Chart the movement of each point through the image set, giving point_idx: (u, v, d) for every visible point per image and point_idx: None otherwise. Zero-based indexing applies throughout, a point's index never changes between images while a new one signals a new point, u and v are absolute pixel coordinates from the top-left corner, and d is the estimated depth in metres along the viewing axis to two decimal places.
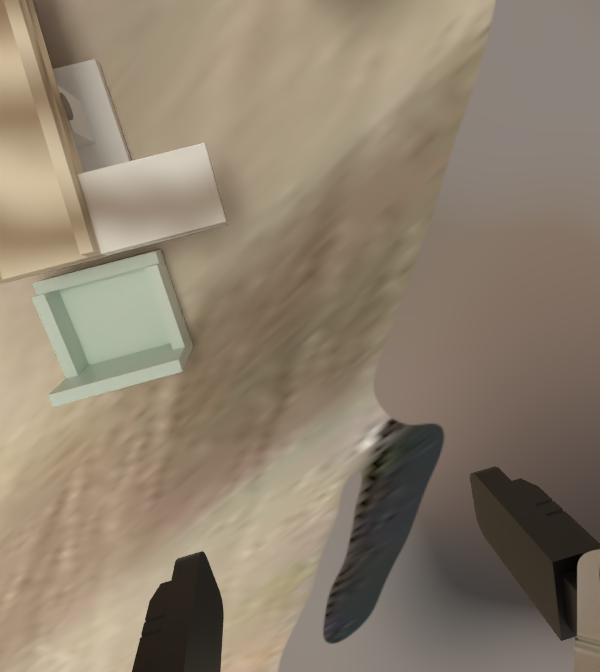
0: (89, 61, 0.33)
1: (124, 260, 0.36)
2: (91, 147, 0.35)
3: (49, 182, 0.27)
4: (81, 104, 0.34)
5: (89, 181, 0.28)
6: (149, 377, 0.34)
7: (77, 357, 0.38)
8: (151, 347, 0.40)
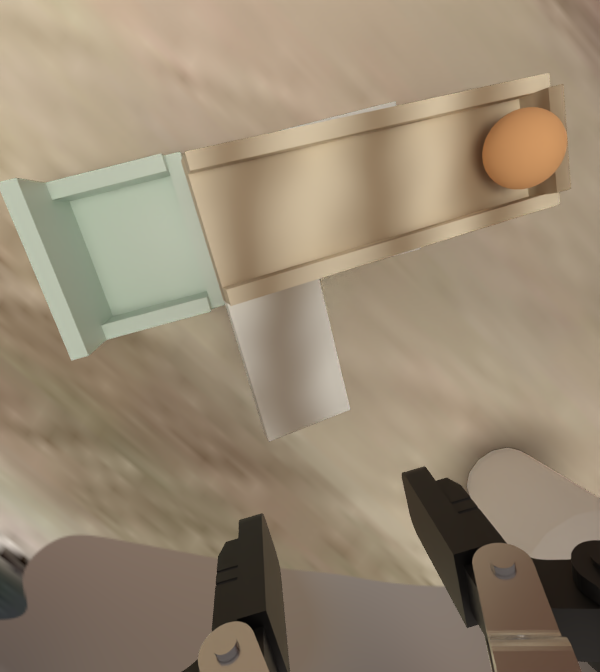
0: None
1: None
2: None
3: (309, 242, 0.23)
4: None
5: (310, 288, 0.24)
6: (58, 318, 0.25)
7: (79, 195, 0.28)
8: (101, 284, 0.31)
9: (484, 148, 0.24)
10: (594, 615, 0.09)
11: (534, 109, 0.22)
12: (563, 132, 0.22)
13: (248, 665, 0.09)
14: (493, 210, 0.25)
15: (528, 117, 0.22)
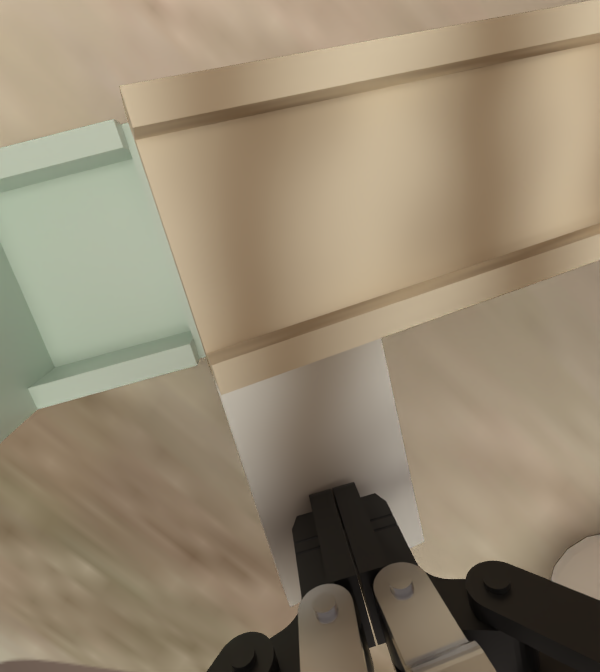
0: None
1: None
2: None
3: (364, 267, 0.13)
4: None
5: (364, 348, 0.13)
6: None
7: None
8: (36, 320, 0.21)
9: None
10: (482, 636, 0.09)
11: None
12: None
13: (351, 622, 0.09)
14: None
15: None
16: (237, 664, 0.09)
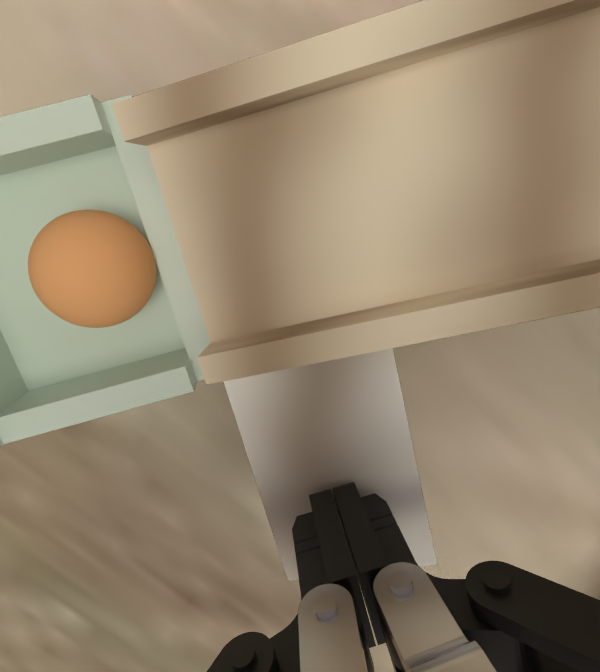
0: None
1: (199, 312, 0.17)
2: None
3: (374, 271, 0.12)
4: None
5: (372, 356, 0.12)
6: None
7: None
8: (5, 336, 0.18)
9: None
10: (482, 636, 0.09)
11: (69, 218, 0.14)
12: (108, 256, 0.14)
13: (351, 622, 0.09)
14: None
15: (48, 233, 0.14)
16: (237, 664, 0.09)
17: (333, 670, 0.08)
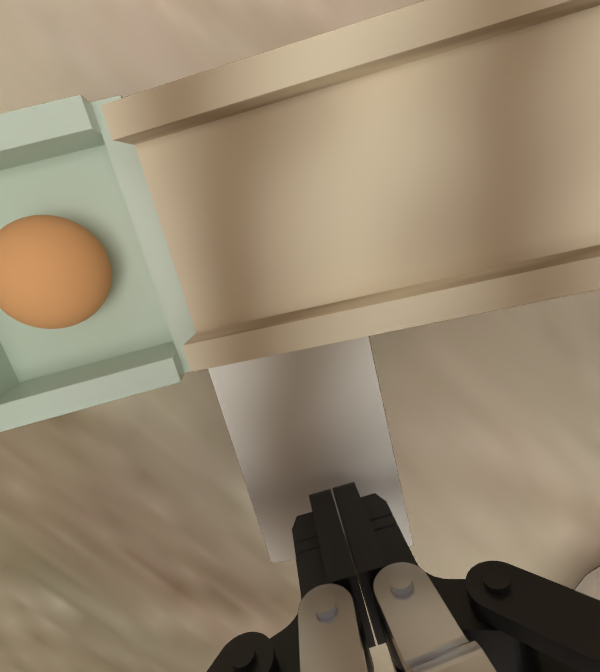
0: None
1: (186, 306, 0.17)
2: None
3: (350, 264, 0.12)
4: None
5: (349, 345, 0.13)
6: None
7: None
8: None
9: None
10: (482, 636, 0.09)
11: (4, 228, 0.15)
12: (14, 271, 0.14)
13: (351, 623, 0.09)
14: None
15: None
16: (237, 664, 0.09)
17: (333, 670, 0.08)
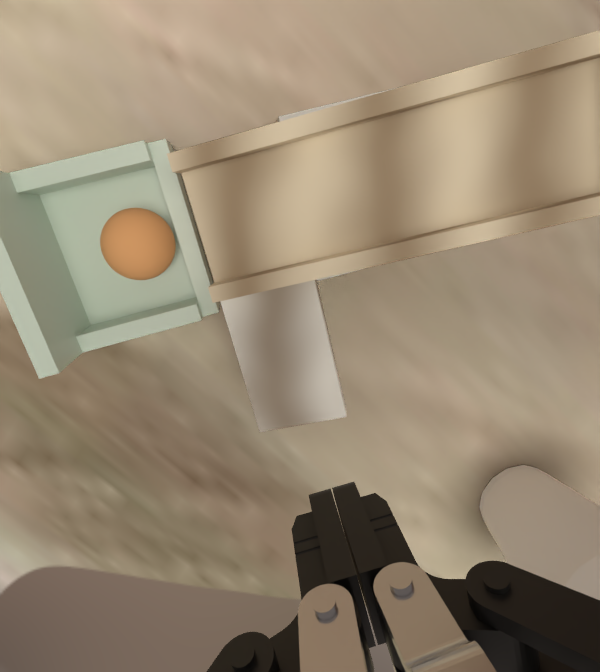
0: None
1: (204, 272, 0.26)
2: None
3: (303, 241, 0.22)
4: None
5: (304, 289, 0.23)
6: (23, 330, 0.22)
7: (50, 188, 0.24)
8: (77, 288, 0.27)
9: None
10: (482, 636, 0.09)
11: (124, 213, 0.24)
12: (145, 236, 0.24)
13: (351, 623, 0.09)
14: (540, 210, 0.19)
15: (112, 222, 0.24)
16: (237, 664, 0.09)
17: (333, 670, 0.08)
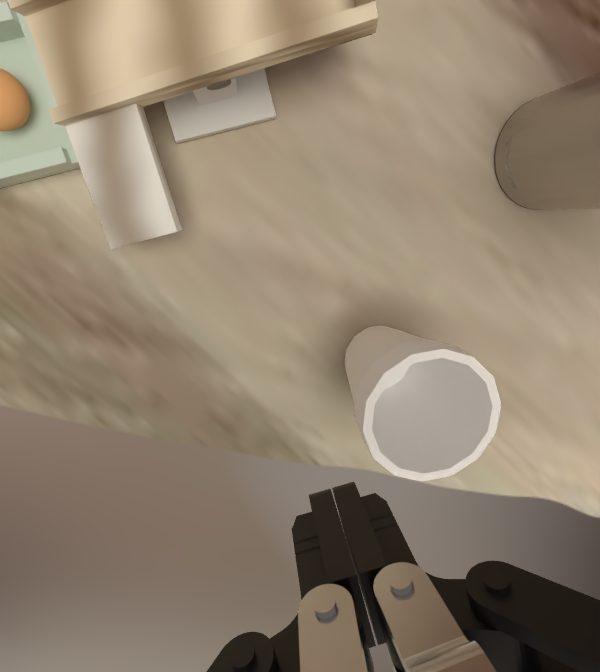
0: (273, 110, 0.35)
1: None
2: (194, 100, 0.34)
3: (124, 72, 0.27)
4: (234, 96, 0.34)
5: (130, 115, 0.28)
6: None
7: None
8: None
9: None
10: (482, 636, 0.09)
11: None
12: None
13: (351, 622, 0.09)
14: (291, 29, 0.25)
15: None
16: (237, 664, 0.09)
17: (333, 670, 0.08)
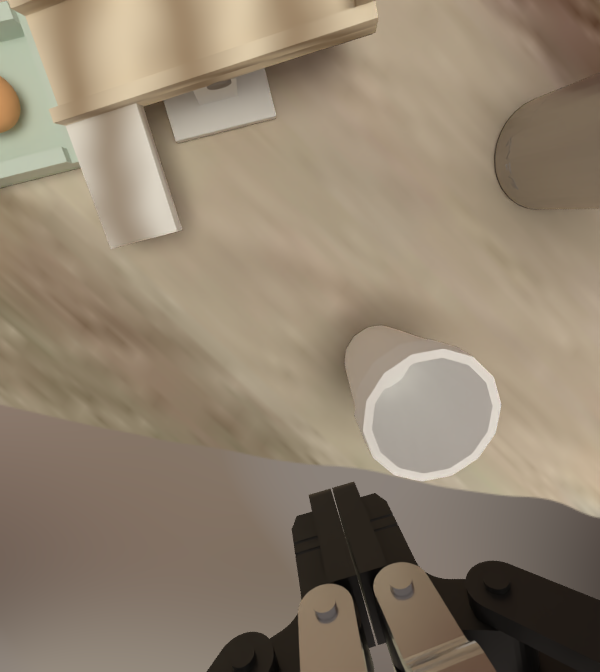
0: (273, 110, 0.35)
1: None
2: (194, 100, 0.34)
3: (124, 72, 0.27)
4: (234, 96, 0.34)
5: (130, 115, 0.28)
6: None
7: None
8: None
9: None
10: (482, 636, 0.09)
11: None
12: None
13: (351, 623, 0.09)
14: (292, 29, 0.25)
15: None
16: (237, 664, 0.09)
17: (333, 670, 0.08)
